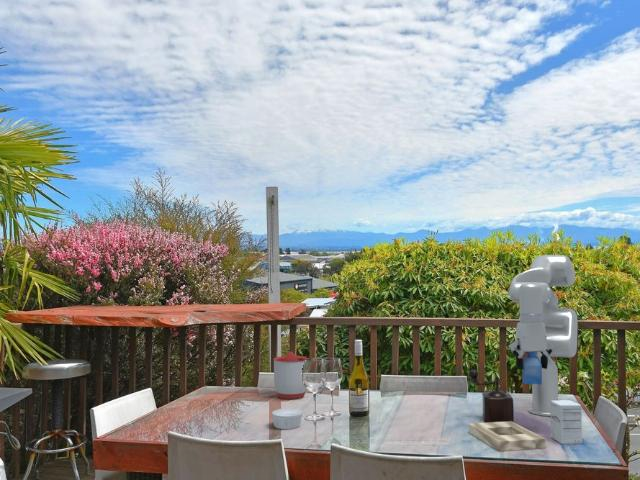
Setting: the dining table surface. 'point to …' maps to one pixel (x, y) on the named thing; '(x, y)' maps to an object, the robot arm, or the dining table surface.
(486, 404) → the coffee grinder
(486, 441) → the hole board
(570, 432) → the supplement box
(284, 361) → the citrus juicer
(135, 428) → the dining table surface
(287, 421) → the ramekin
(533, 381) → the perfume bottle
